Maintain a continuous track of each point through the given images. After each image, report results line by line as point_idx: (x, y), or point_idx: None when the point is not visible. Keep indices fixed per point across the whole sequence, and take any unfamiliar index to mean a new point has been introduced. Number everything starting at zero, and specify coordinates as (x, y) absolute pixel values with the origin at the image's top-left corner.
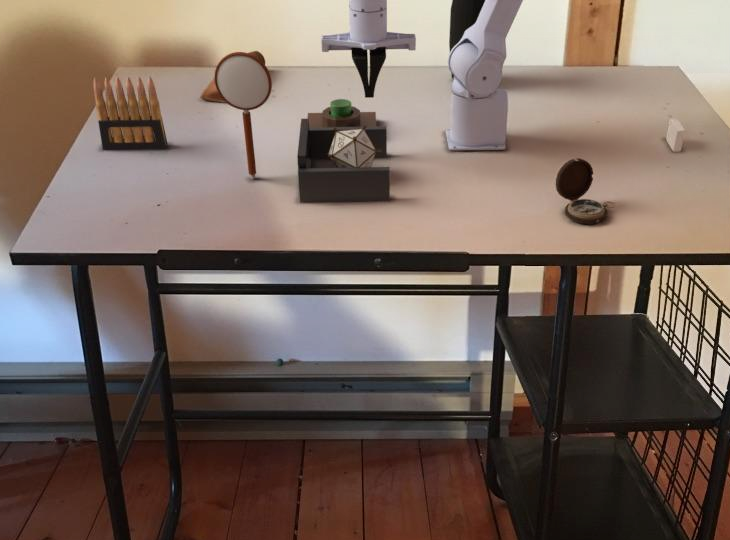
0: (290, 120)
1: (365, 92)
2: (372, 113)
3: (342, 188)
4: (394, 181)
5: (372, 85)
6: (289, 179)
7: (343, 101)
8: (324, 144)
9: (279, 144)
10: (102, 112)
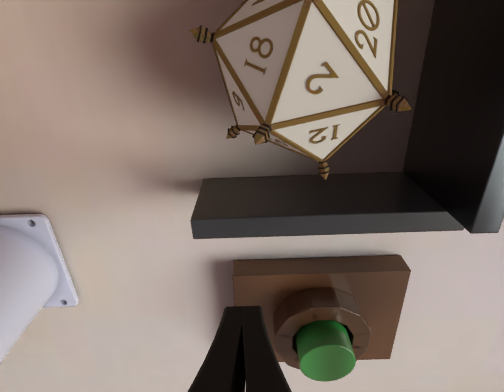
0: (418, 347)
1: (260, 321)
2: None
3: None
4: (166, 25)
5: (223, 348)
6: None
7: (320, 370)
8: (379, 190)
9: (466, 249)
10: None
